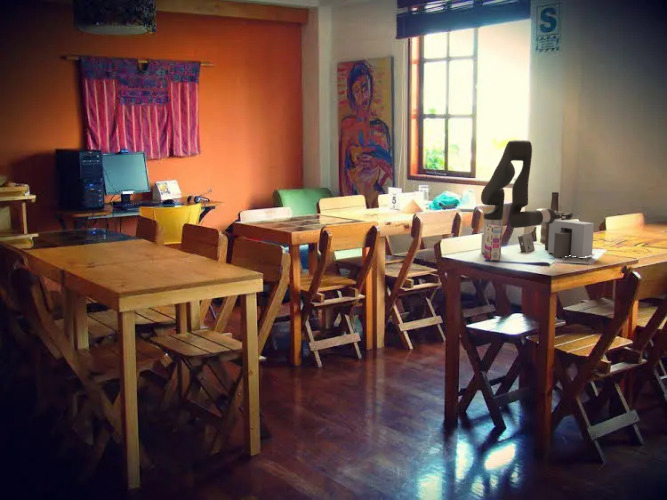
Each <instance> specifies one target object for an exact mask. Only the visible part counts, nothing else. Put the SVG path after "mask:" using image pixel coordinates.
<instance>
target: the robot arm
mask: <svg viewBox="0 0 667 500" xmlns="http://www.w3.org/2000/svg"><path fill="white" fill-rule="evenodd" d="M532 157H533V145H532V143H531V141H530V140H524V139H511V140H509V141H507V143H506V145H505V148H504V151H503V154H502V155H501V158H500V160H499V163H497V166H496V168H495V170H493V171H494V172H493V173H492V176H491V178H489V180H488V182H487V183H486V184H485V185H484V187H483V189H482V190H481V191H482V192H481V195H480V201H481V203H482V204H483V205H484V206H494V207H493V208H492V209H491V210H490V211H486V212H484V214H483V225H482V227H483V229H482V233H481V245H480V247H481V248H480V253H482V254H484V252H485V232H486V224H495V225H498V226H500V227H502V229H501V239H502V236H503V235H502V234H503V233H502V232H503V216H504V207H505V206H504V205H505V189H504V188H506V187H507V186H509V184H510V183H511V182H512V180H513V179H514V177H515V175H516V169H515V166H514V164H513V163H512V162H513V161H515V162H516V161H517V162H518V161H519V162H520V161H521V162H522V167H521V170H520V171H519V174H518V176H516V179H515V181H514V182H513V185H512V189H511V190H512V191H511V199H512V200H511V205H510V209H509V212H508V217H507V220H508V224H509V225H510V227H511V228H513V229H517V228H518V229H519V228H529V227H533V226H541V225H546V224H551V223H553V222H554V220H571V218H573V216H574V215H573V212H563V211H558V212H557V211H556V210H555V211H554V210H553V209H551V207H546V208H545V207H544V208H537V209H532V210H527V211H526V210H525V211H522V210H523V208H525V207H526V206H528V204H529V180H530V173H531V164H532V159H533V158H532ZM501 252H502V246H501V247H500V254H501Z"/></svg>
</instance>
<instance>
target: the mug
mask: <svg viewBox="0 0 667 500" xmlns="http://www.w3.org/2000/svg"><path fill="white" fill-rule="evenodd" d="M540 226H541V227H540V240H539V242H540V243H541V244H545V236H546V225H540Z"/></svg>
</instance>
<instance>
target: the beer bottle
mask: <svg viewBox="0 0 667 500" xmlns="http://www.w3.org/2000/svg"><path fill="white" fill-rule="evenodd" d="M559 197H560V194H559V192H557V191H552V192H551V201H550V202H551V203H550V208H551V209H553V210H554V211H555V210H556V211H557V212H559ZM548 242H549V224H546V236H545V243H544V249H545V250H546V251H548Z"/></svg>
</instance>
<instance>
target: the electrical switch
mask: <svg viewBox="0 0 667 500" xmlns="http://www.w3.org/2000/svg"><path fill="white" fill-rule="evenodd" d="M517 239H518V243H519V248H520V251H521V252H525V253H528V252H531V251H534V250H535V245H534V240H533V236H532V232H526V233H523V234H521V236H517Z"/></svg>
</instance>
